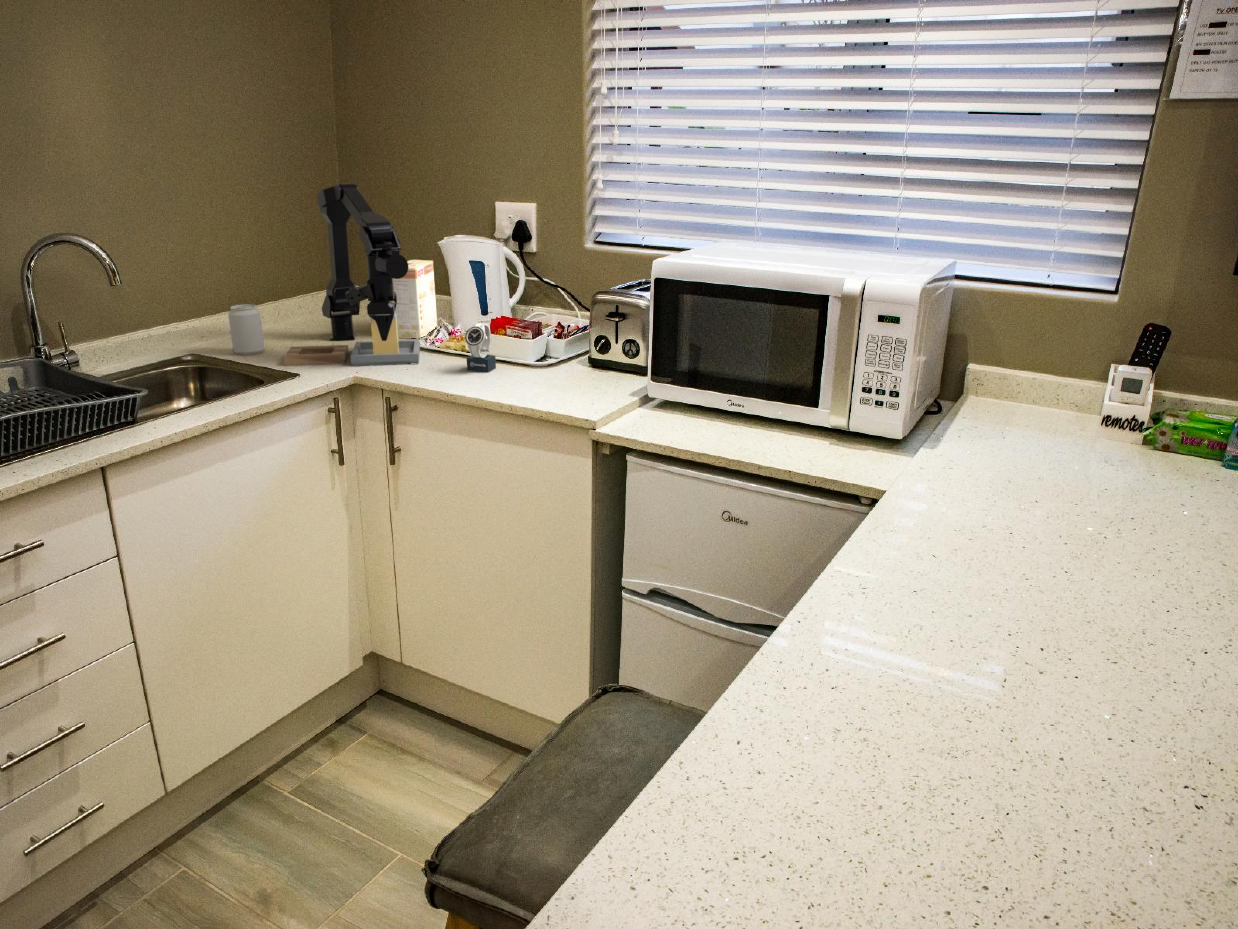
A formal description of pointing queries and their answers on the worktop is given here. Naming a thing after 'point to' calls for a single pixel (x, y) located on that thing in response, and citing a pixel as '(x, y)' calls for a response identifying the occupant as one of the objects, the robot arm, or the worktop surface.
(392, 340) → the tan rectangular block
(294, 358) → the brown wooden frame
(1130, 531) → the worktop surface
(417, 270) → the coffeecake box
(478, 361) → the watch
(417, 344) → the parts tray
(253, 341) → the can
